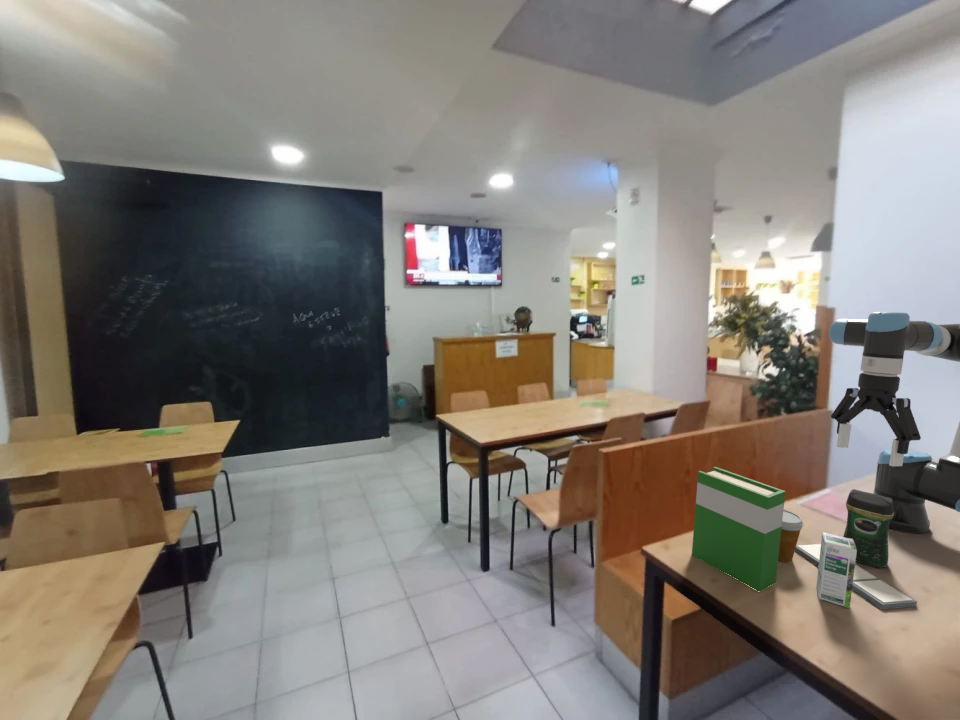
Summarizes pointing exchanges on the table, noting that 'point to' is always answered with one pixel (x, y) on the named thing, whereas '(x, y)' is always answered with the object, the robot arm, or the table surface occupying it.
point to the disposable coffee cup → (789, 535)
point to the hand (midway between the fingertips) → (867, 456)
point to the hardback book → (738, 526)
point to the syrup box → (836, 569)
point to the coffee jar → (869, 526)
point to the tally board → (865, 583)
